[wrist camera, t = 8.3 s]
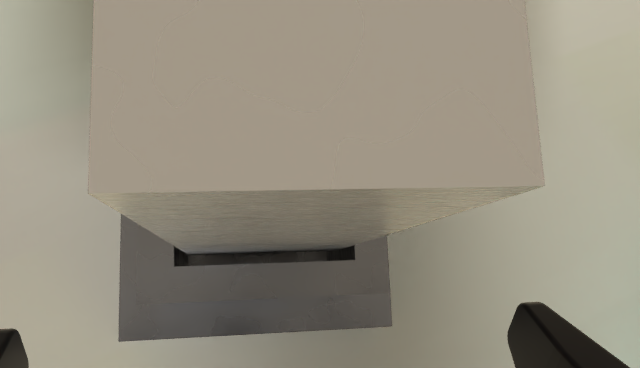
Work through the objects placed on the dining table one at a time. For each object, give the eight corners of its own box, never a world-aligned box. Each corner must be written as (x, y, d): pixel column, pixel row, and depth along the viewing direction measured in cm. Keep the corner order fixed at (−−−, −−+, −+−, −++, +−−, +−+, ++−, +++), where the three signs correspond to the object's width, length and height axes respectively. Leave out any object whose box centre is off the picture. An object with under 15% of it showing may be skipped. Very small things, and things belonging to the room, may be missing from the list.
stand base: (378, 322, 23) (459, 345, 15) (129, 336, 22) (64, 369, 13) (365, 92, 25) (431, -2, 17) (133, 90, 23) (77, -16, 15)
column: (336, 250, 17) (544, 185, 6) (189, 255, 17) (88, 193, 5) (329, 94, 18) (498, -238, 7) (189, 93, 18) (101, -281, 6)
